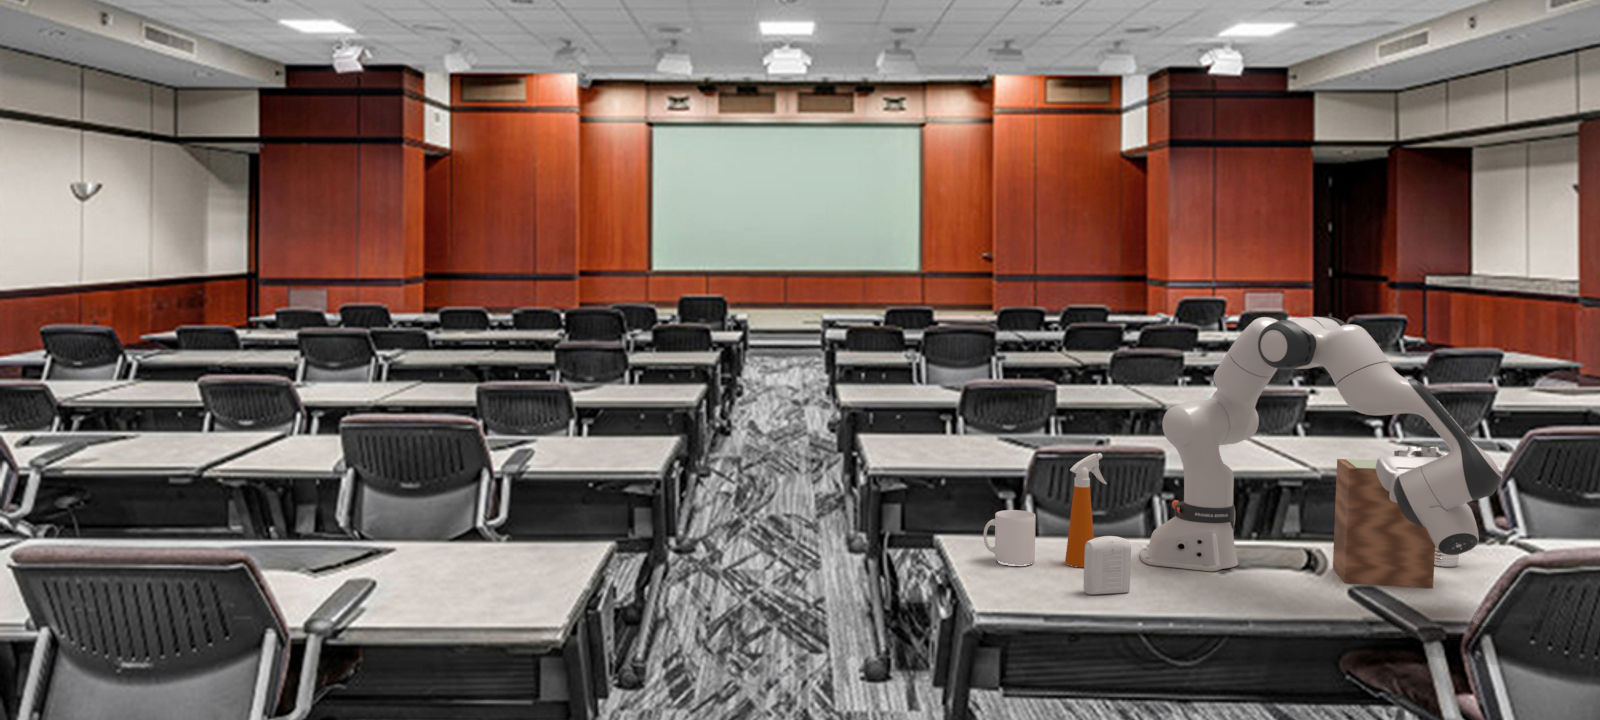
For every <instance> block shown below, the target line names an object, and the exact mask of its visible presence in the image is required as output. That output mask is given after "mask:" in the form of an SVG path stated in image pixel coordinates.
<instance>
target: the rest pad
mask: <svg viewBox="0 0 1600 720" xmlns="http://www.w3.org/2000/svg"><path fill="white" fill-rule="evenodd" d="M1344 459H1345V460H1346V461H1347V462H1349V463H1350V464H1351V465H1353V466H1354V467H1355V468H1357V469H1376V463H1377V460H1378V459H1358V458H1357V459H1354V458H1352V459H1351V458H1344Z"/></svg>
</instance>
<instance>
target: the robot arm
mask: <svg viewBox="0 0 1600 720" xmlns="http://www.w3.org/2000/svg"><path fill="white" fill-rule="evenodd" d="M1318 367H1324V368H1325V370H1326V371H1327V372H1328V374H1329V375H1330V377H1331V379H1332V381H1333V383H1334V386H1336V389H1337V391H1338V392H1339V394H1340V396H1341V397H1342V399H1343V400H1344V402H1345V403H1346V405H1348V407H1349V408H1350V409H1352V410H1353V411H1355V412H1358V413H1360V414H1364V415H1368V416H1388V415H1389V416H1391V415H1401V414H1413V415H1414V414H1415V415H1418V416H1421V417H1422V418H1424V420H1426V421H1427V422H1428V424H1430V426H1431V427H1432V429H1433V430H1434V431H1435V432H1436V433H1437V434H1438V436H1440V438H1441V439H1442V441H1444V442H1445V444H1446V445H1447V446H1448V447H1449V450H1450V451H1449V452H1448V453H1447V454H1445V453H1444V452H1442V451H1440V448H1439V447H1438V446H1429V448H1436V457H1416V456H1417V452H1418V450H1417V448H1418V447H1417V446H1416V445H1415V446H1414V445H1408V447H1407V450H1408V451H1407V450H1406V451H1407V452H1408V454H1407V456H1394V455H1380V456H1379V457H1378V458H1377V459H1376V460H1377V463H1376V473H1377V476H1378V478H1379V480H1380V482H1381V484H1382V486H1383V487H1384V488H1385V489H1386V490H1387V491H1389V498H1390V500H1391V501H1392V502H1395V503H1398V505H1399V507H1400V509H1401V511H1402V513H1403V514H1404V516H1405V517H1406V518H1407V519H1408V520H1409V521H1411V522H1412V523H1414V524H1416V525H1418V526H1421V527H1425V528H1426V530H1427V532H1428V534H1429V536H1430V538H1431V540H1432V541H1433V543H1434V545H1435V546H1436V548H1437V549H1438V550H1439V551H1440V552H1441V553H1443V554H1447V555H1458V554H1459V555H1461V554H1464V553H1467V552H1469V551H1471V550H1473V549H1474V548H1476V546H1477V545H1478V543H1479V540H1480V539H1479V528H1478V525H1477V522H1476V519H1475V515H1474V512H1473V509H1472V508H1471V506H1470V505H1469V504H1468V503H1469V502H1472V501H1477V500H1480V499H1483V498H1487V497H1490V496H1493V495H1494V493H1496V491H1497V489H1498V487H1499V485H1500V483H1501V479H1502V476H1501V472H1500V469H1499V467H1498V465H1497V464H1496V462H1495V461H1494V460H1493V458H1492V457H1491V456H1490V455H1489V454H1488V453H1486V452H1485V450H1483V449H1482V448H1481V447H1480V446H1479V445H1477V444H1476V442H1475V441H1474V440H1473V438H1472V437H1470V436H1469V435H1468V433H1467V432H1466V431H1465V429H1463V427H1462V426H1461V425H1460V423H1459V422H1457V420H1456V419H1455V418H1454V417H1453V416H1452V414H1451V413H1450V412H1449V411H1448V410H1447V408H1445V406H1444V405H1443V404H1442V403H1441V402H1440V401H1439V399H1438V398H1436V396H1435V395H1434V394H1433V393H1432V392H1431V391H1430V390H1429V389H1428V388H1427V386H1425V385H1424V384H1423V383H1421V382H1420V381H1418V380H1417V379H1412V378H1411V379H1410V378H1405V377H1403V376H1402V375H1400V373H1398V372H1397V371H1396V370H1395V369H1394V368H1393V366H1392V365H1391V364H1390V361H1389V360H1388V358H1387V356H1386V355H1385V353H1384V352H1383V351H1382V349H1381V348H1380V346H1379V345H1378V343H1377V341H1376V340H1374V338H1373V337H1372V335H1370V334H1369V332H1368V331H1367V330H1366V328H1363V327H1362V326H1360V325H1357V324H1347V323H1345V322H1344V321H1343V320H1341V319H1338V318H1337V317H1332V316H1302V317H1297V318H1293V319H1292V318H1291V319H1281V320H1279V319H1276V318H1273V317H1268V316H1264V317H1263V316H1262V317H1258V318H1256V319H1255V318H1254V320H1252V322H1250V323H1249V324H1248V325H1247V326H1246V327H1245V328H1244V329H1243V331H1242V332H1241V333H1240V334H1239V335H1238V336H1237V338H1236V339H1235V340H1234V342H1233V343H1232V345H1231V346H1230V348H1228V351H1227V353H1226V354H1225V356H1224V357H1223V358H1222V360H1221V362H1220V364H1219V365H1218V366H1217V368H1216V369H1215V371H1214V373H1213V382H1214V385H1215V387H1216V392H1215V394H1214V395H1213V396H1212V397H1210V398H1209V399H1206V400H1204V399H1203V400H1193V401H1185V402H1182V403H1180V404H1179V403H1178V404H1176V405H1174V406H1172V407H1170V408H1168V409H1167V410H1166V411H1165V413H1164V415H1163V419H1162V423H1161V424H1162V431H1163V434H1164V436H1165V439H1166V440H1167V441H1168V442H1169V443H1170V444H1171V445H1173V447H1174V448H1175V449H1176V451H1177V452H1178V455H1179V456H1180V459H1181V464H1182V467H1183V480H1184V481H1183V482H1184V483H1183V486H1184V487H1183V488H1184V489H1183V492H1184V493H1183V494H1184V495H1183V500H1182V501H1179V500H1177V499H1174V500H1173V501H1171V506H1172V508H1173V509H1174V516H1173V517H1172V518H1171V519H1169V520H1168V521H1166V522H1164V523H1163V524H1161V525H1159V526H1158V527H1157V528H1155V529H1154V530H1153V532H1152V534H1151V536H1150V540H1149V545H1148V546H1146V547H1144V548H1141V549H1140V551H1139V560H1140V561H1142V562H1143V563H1144V564H1146V565H1149V566H1155V567H1156V566H1157V567H1166V568H1167V567H1168V568H1175V569H1176V568H1177V569H1187V570H1193V571H1195V570H1196V571H1203V572H1205V571H1206V572H1217V571H1220V570H1222V569H1224V570H1225V569H1229V568H1234V567H1237V566H1238V565H1239V560H1238V557H1237V552H1236V545H1235V535H1234V528H1235V524H1236V509H1235V508H1236V506H1235V504H1234V485H1235V484H1234V483H1235V482H1234V481H1235V478H1234V477H1235V475H1234V472H1233V470H1232V469H1231V468H1230V466H1228V465H1227V464H1226V463H1224V461H1223V459H1222V456H1221V453H1220V446H1226V445H1233V444H1234V445H1235V444H1238V443H1240V442H1241V443H1242V442H1243V441H1246V440H1248V439H1250V438H1252V437H1254V435H1255V434H1256V433H1257V431H1258V428H1259V426H1260V425H1259V423H1260V420H1259V419H1260V418H1259V413H1258V411H1257V410H1256V406H1257V403H1258V399H1259V398H1260V397H1261V395H1262V393H1263V391H1264V390H1265V389H1266V387H1267V386H1268V384H1269V383H1270V381H1271V379H1273V376H1274V375H1275V373H1276V372H1277V370H1287V371H1288V370H1293V369H1294V370H1303V369H1304V370H1305V369H1312V368H1318Z"/></svg>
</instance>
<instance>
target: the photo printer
mask: <svg viewBox="0 0 1600 720" xmlns="http://www.w3.org/2000/svg"><path fill="white" fill-rule="evenodd" d="M1131 555H1132V547H1131V542H1130V540H1128V539H1127V538H1123V537H1120V536H1114V535H1104V536H1099V537H1094V539H1092V540H1089V541H1087V542H1086V544H1085V556H1084V568H1083V592H1084V593H1085V594H1086V595H1107V594H1122V593H1129V592H1130V589H1131V562H1132V556H1131Z"/></svg>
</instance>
